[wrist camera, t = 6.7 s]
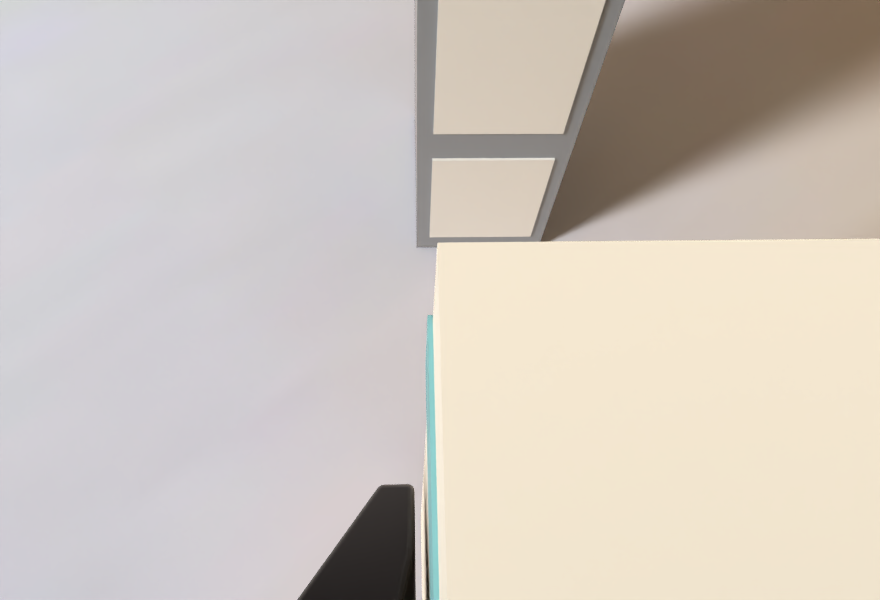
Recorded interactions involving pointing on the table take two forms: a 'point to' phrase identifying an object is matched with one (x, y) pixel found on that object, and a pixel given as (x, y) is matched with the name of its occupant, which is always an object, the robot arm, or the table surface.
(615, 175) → the table surface
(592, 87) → the ticket block
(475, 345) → the cream long block
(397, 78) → the table surface
